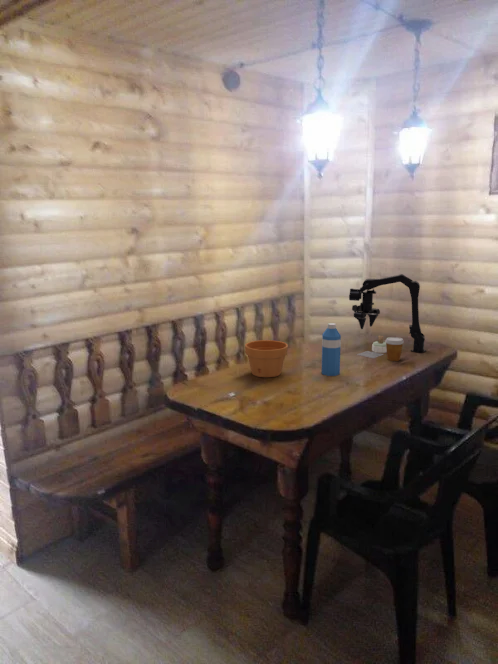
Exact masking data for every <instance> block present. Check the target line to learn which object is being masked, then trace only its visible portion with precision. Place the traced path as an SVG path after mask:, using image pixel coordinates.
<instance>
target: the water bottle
mask: <svg viewBox="0 0 498 664" xmlns="http://www.w3.org/2000/svg"><path fill="white" fill-rule="evenodd" d="M336 327H337V323H334V322H329V323H327V328H326V329H325V331H323V333H322V334H321V335H322V337H321V340H322V341H321V375H324V376H327V377H336V376H339V375H340V373H341V371H340V370H341V342H342V341H341V339H342V336H341V333H340V332H339V331H338V329H337V328H336Z"/></svg>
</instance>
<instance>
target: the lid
mask: <svg viewBox="0 0 498 664" xmlns="http://www.w3.org/2000/svg"><path fill="white" fill-rule="evenodd" d="M377 337H378V338H377V340H378V341H373V343H372V344H373V345H374V346H378V347H386V342H385V341H384V335H378V336H377Z"/></svg>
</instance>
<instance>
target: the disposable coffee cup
mask: <svg viewBox="0 0 498 664" xmlns="http://www.w3.org/2000/svg"><path fill="white" fill-rule="evenodd" d="M384 342H386V348H387V352H386V357H387V361H391V362H399V361H400V360H401V354H402V350H403V344H404V339H403V337H396V336H389V337H387V338H386V339H385V340H384Z"/></svg>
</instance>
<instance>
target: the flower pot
mask: <svg viewBox="0 0 498 664" xmlns="http://www.w3.org/2000/svg"><path fill="white" fill-rule="evenodd" d="M288 349H289V347H288V343H286V342H283V341H279V340H271V339H270V340H268V339H266V340H265V339H264V340H263V339H262V340H261V339H260V340H253V341H249V342H246V343H245V344H244V350H245V354H246V356H247V359H248V364H249V367H250V371H251V374H252V375H253V376H255V377H258V378H274V377H275V378H276V377H278V376H280V375H281V374H282V372H283V368H284V362H285V358H286V355H287V354H288Z"/></svg>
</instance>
